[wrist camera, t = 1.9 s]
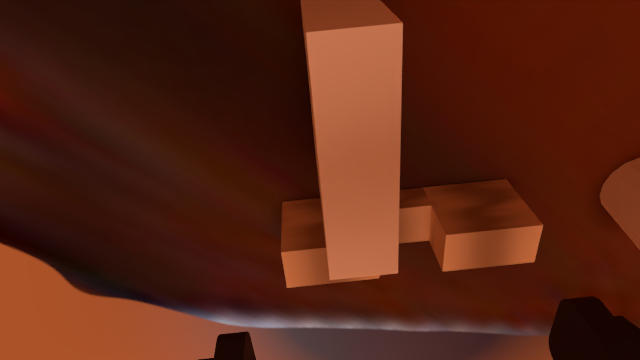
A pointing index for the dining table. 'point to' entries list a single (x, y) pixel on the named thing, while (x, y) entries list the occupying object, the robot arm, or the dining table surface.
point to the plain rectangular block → (356, 130)
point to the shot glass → (624, 198)
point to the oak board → (425, 229)
